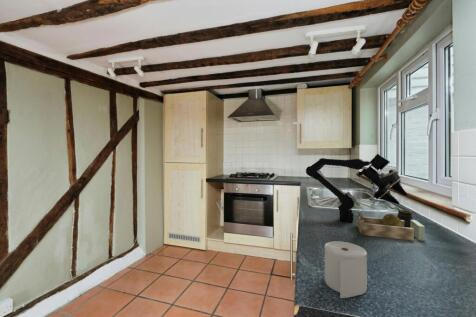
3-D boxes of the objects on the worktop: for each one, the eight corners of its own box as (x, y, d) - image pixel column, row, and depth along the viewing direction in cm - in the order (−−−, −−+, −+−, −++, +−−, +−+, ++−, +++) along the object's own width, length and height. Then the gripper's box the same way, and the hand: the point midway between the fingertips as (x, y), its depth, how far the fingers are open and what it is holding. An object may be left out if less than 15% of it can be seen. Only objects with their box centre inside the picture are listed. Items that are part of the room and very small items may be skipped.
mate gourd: (418, 229, 107) (418, 208, 107) (402, 229, 108) (402, 209, 107) (406, 224, 115) (406, 205, 114) (392, 224, 115) (392, 205, 115)
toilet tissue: (352, 273, 67) (353, 240, 67) (379, 299, 55) (379, 259, 55) (318, 274, 67) (318, 241, 66) (337, 300, 55) (337, 260, 54)
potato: (379, 234, 99) (379, 217, 99) (383, 227, 109) (383, 211, 109) (402, 239, 94) (402, 220, 94) (404, 231, 104) (404, 214, 104)
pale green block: (418, 240, 93) (418, 226, 93) (410, 232, 103) (410, 219, 103) (425, 240, 93) (426, 226, 93) (416, 233, 102) (416, 220, 102)
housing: (361, 234, 100) (361, 217, 100) (357, 225, 112) (357, 210, 112) (413, 240, 93) (413, 221, 93) (403, 230, 105) (403, 214, 105)
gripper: (376, 174, 102) (408, 199, 95) (392, 160, 111) (422, 181, 104) (361, 187, 110) (390, 211, 103) (378, 173, 120) (405, 194, 112)
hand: (402, 199), depth 105 cm, fingers open, 9 cm apart
